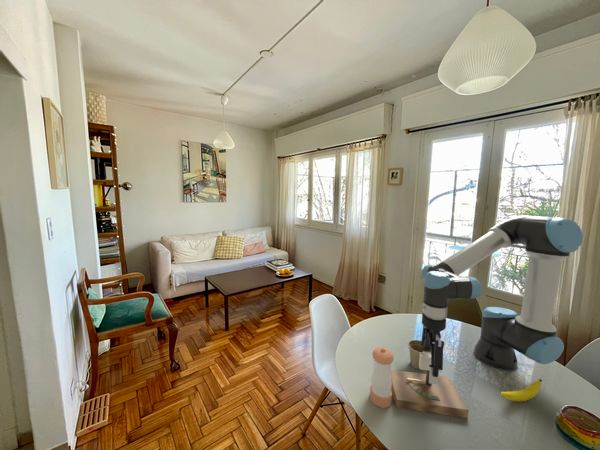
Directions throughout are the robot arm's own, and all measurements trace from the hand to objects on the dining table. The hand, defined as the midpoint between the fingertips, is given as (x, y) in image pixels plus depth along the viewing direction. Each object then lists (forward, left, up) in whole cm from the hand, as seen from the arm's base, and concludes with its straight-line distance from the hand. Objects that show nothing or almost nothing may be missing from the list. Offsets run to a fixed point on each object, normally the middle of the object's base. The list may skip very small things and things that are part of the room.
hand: (429, 375), depth 90 cm
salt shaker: (+18, +7, -7) cm, 20 cm away
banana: (-31, -2, -7) cm, 32 cm away
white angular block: (+2, 0, -3) cm, 4 cm away
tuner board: (+2, +2, -7) cm, 7 cm away
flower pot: (-1, -15, -7) cm, 16 cm away
